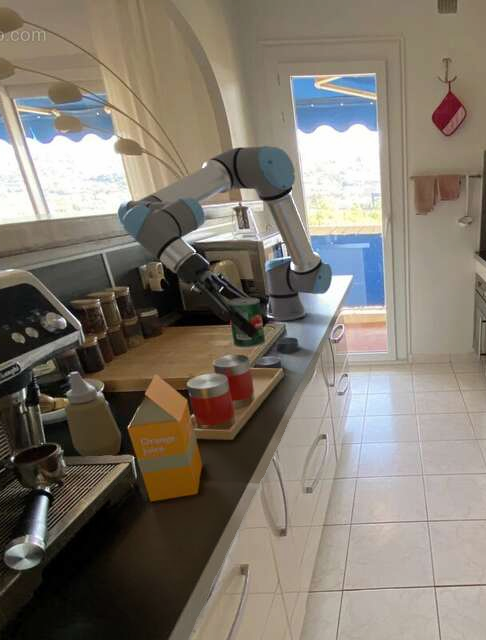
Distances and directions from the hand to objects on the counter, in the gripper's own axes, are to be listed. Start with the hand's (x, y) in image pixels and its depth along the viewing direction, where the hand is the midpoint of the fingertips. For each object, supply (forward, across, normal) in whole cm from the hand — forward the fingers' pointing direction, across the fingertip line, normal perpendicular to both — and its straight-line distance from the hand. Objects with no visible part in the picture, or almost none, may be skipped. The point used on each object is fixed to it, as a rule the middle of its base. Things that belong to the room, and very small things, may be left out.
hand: (260, 328), depth 114 cm
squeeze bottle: (-4, +36, -26) cm, 45 cm away
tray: (+9, +12, -13) cm, 20 cm away
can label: (+8, +12, -13) cm, 20 cm away
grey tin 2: (+9, -28, -13) cm, 33 cm away
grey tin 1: (+9, -10, -13) cm, 19 cm away
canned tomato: (0, 0, -5) cm, 5 cm away
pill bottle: (-9, +26, -31) cm, 42 cm away
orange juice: (+10, +44, -12) cm, 47 cm away
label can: (+8, +24, -13) cm, 29 cm away
